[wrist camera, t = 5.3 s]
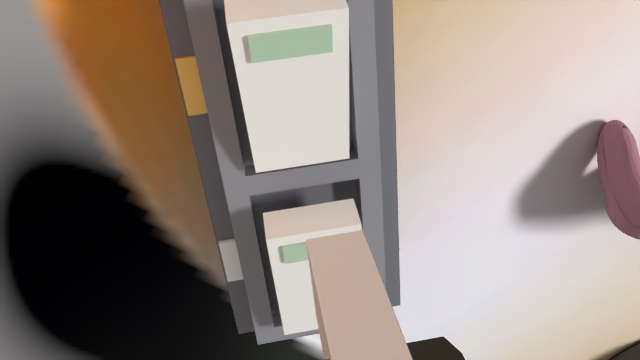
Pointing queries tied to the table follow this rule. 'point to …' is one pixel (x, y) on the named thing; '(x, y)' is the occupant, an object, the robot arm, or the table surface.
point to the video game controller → (620, 176)
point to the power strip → (290, 183)
